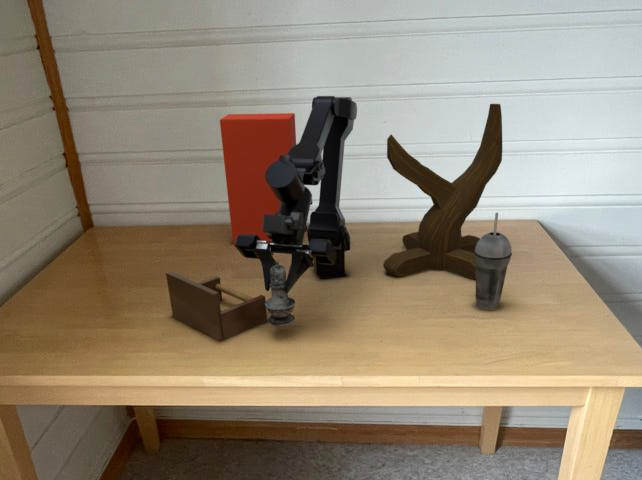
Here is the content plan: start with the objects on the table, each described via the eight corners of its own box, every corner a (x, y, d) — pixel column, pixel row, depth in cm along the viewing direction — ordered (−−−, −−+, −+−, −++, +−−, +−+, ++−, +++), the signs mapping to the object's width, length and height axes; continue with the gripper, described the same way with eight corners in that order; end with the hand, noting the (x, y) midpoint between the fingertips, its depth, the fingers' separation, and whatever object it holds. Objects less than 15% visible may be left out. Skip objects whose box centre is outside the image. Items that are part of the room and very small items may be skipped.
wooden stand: (458, 236, 170) (469, 95, 152) (523, 273, 146) (545, 111, 128) (357, 252, 163) (357, 106, 145) (409, 294, 139) (416, 126, 121)
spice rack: (219, 299, 141) (214, 256, 136) (267, 320, 130) (263, 275, 125) (172, 317, 134) (165, 272, 129) (219, 341, 123) (213, 294, 118)
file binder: (295, 245, 169) (288, 118, 153) (232, 244, 172) (219, 119, 156) (300, 235, 176) (294, 112, 160) (240, 234, 179) (228, 114, 163)
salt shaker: (260, 318, 124) (255, 260, 118) (286, 310, 126) (282, 252, 120) (276, 329, 119) (271, 269, 113) (302, 320, 122) (299, 261, 116)
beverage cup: (506, 300, 134) (518, 206, 124) (504, 315, 128) (516, 217, 118) (471, 296, 136) (479, 204, 126) (467, 311, 130) (475, 215, 120)
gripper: (233, 191, 117) (214, 270, 114) (330, 196, 111) (313, 279, 108) (253, 219, 127) (236, 292, 124) (343, 225, 122) (328, 301, 118)
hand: (276, 291), depth 118 cm, fingers closed on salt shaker, 3 cm apart
